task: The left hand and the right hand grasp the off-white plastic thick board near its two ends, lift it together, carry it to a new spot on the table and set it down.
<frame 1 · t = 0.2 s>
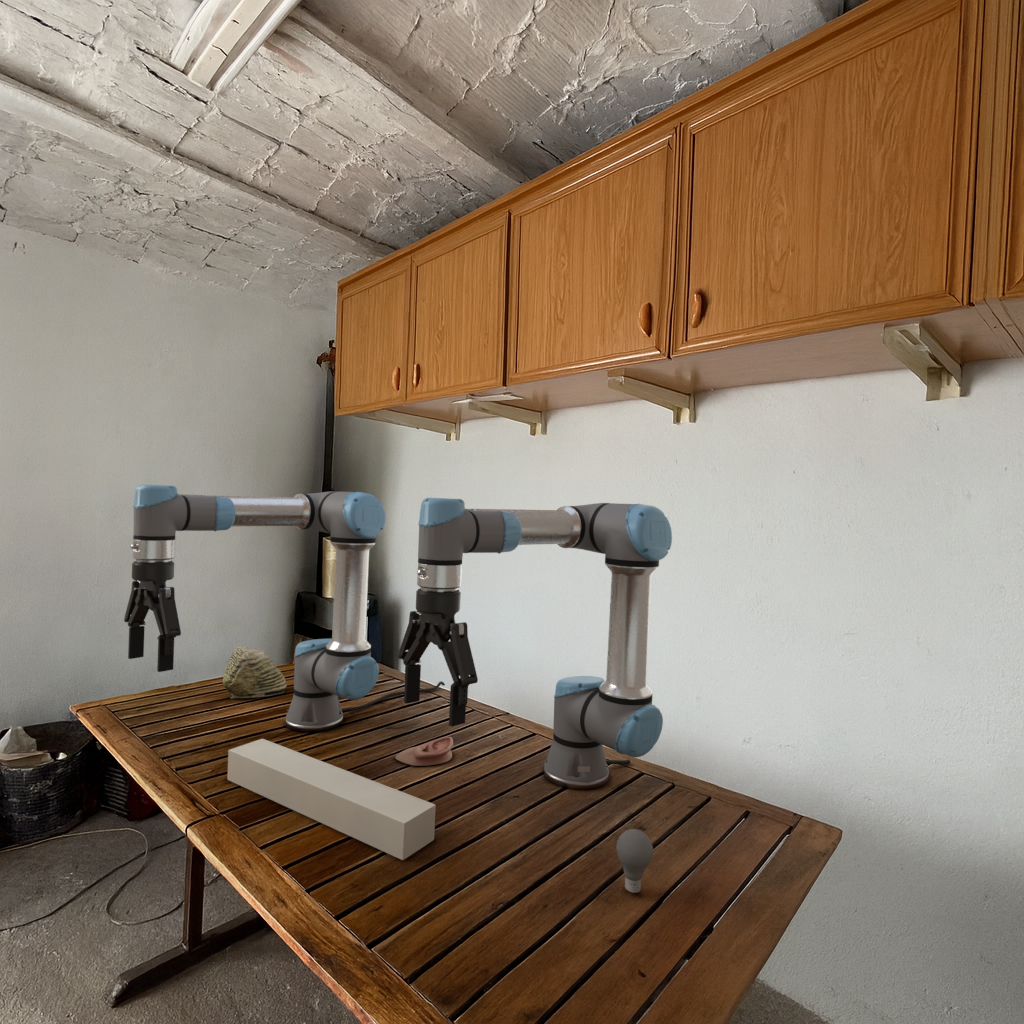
left hand: (150, 664, 129), 28 cm above the table, tool pointing down, fingers open, 13 cm apart
right hand: (433, 712, 108), 28 cm above the table, tool pointing down, fingers open, 13 cm apart
fossil: (254, 694, 198), on the table
thick board: (322, 807, 129), on the table
anatomical model: (424, 757, 156), on the table
light bulb: (632, 891, 106), on the table
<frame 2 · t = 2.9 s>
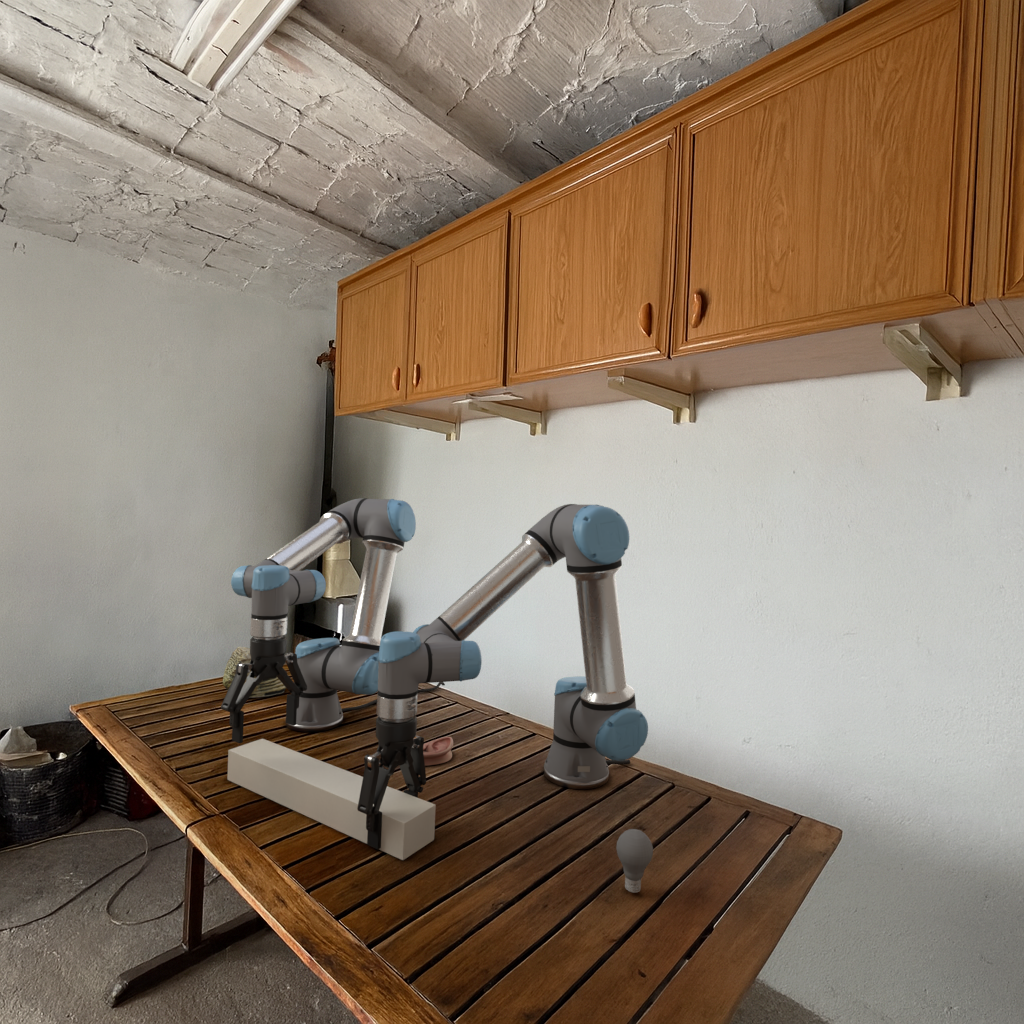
left hand: (265, 732, 139), 11 cm above the table, tool pointing down, fingers open, 13 cm apart
right hand: (391, 835, 119), 1 cm above the table, tool pointing down, fingers closed on thick board, 9 cm apart
thick board: (322, 807, 129), on the table, touching right hand
everything else where it was.
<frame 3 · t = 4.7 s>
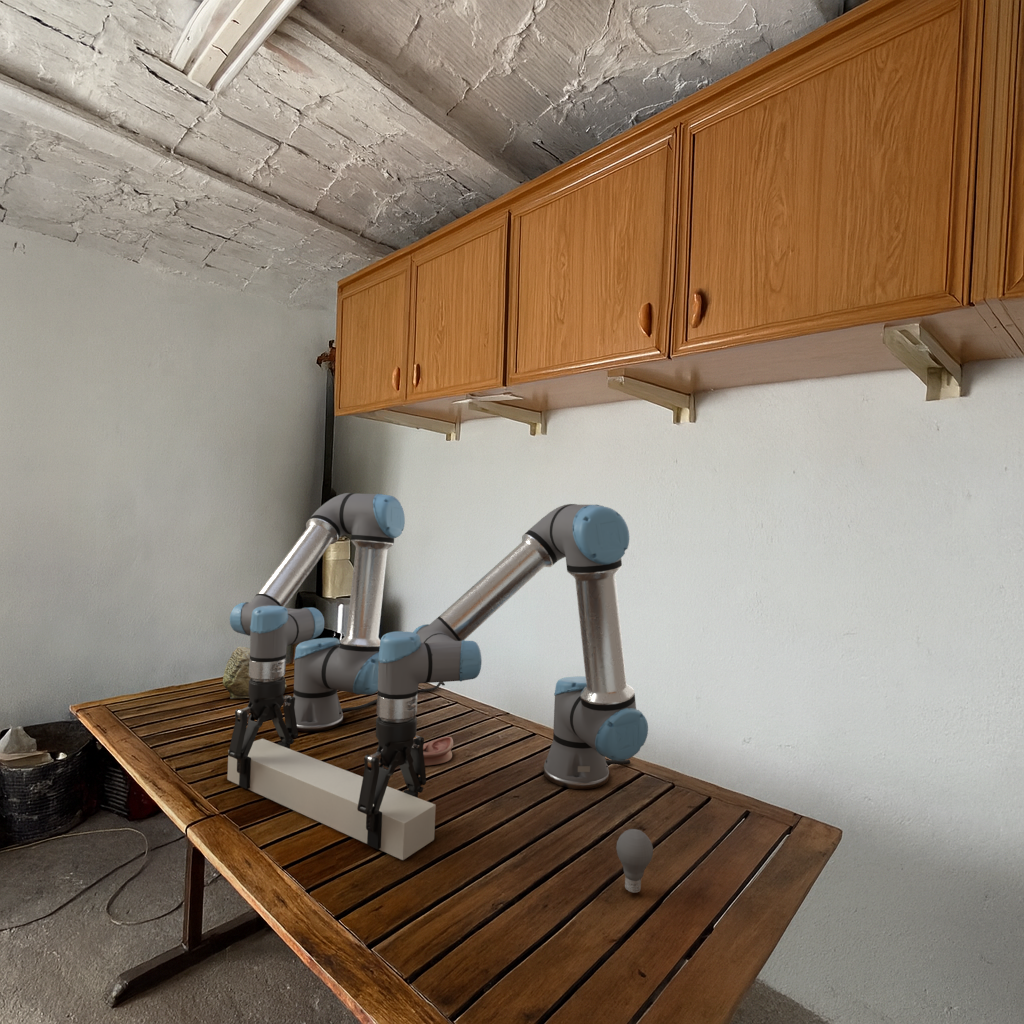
left hand: (263, 779, 140), 1 cm above the table, tool pointing down, fingers closed on thick board, 9 cm apart
right hand: (391, 835, 119), 1 cm above the table, tool pointing down, fingers closed on thick board, 9 cm apart
thick board: (322, 807, 129), on the table, touching left hand, right hand
everything else where it was.
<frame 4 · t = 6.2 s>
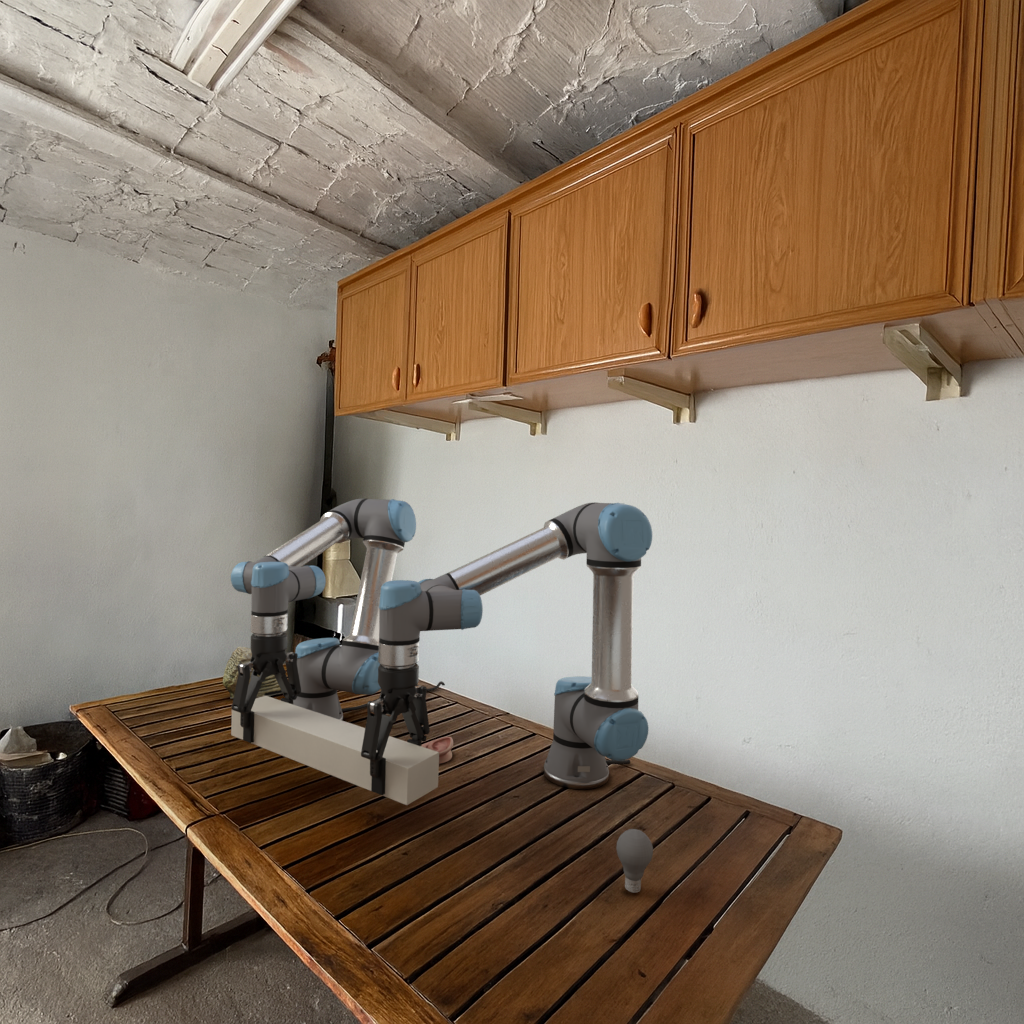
left hand: (267, 734, 140), 10 cm above the table, tool pointing down, fingers closed on thick board, 9 cm apart
right hand: (396, 782, 119), 10 cm above the table, tool pointing down, fingers closed on thick board, 9 cm apart
thick board: (326, 759, 130), point 10 cm above the table, touching left hand, right hand
everything else where it was.
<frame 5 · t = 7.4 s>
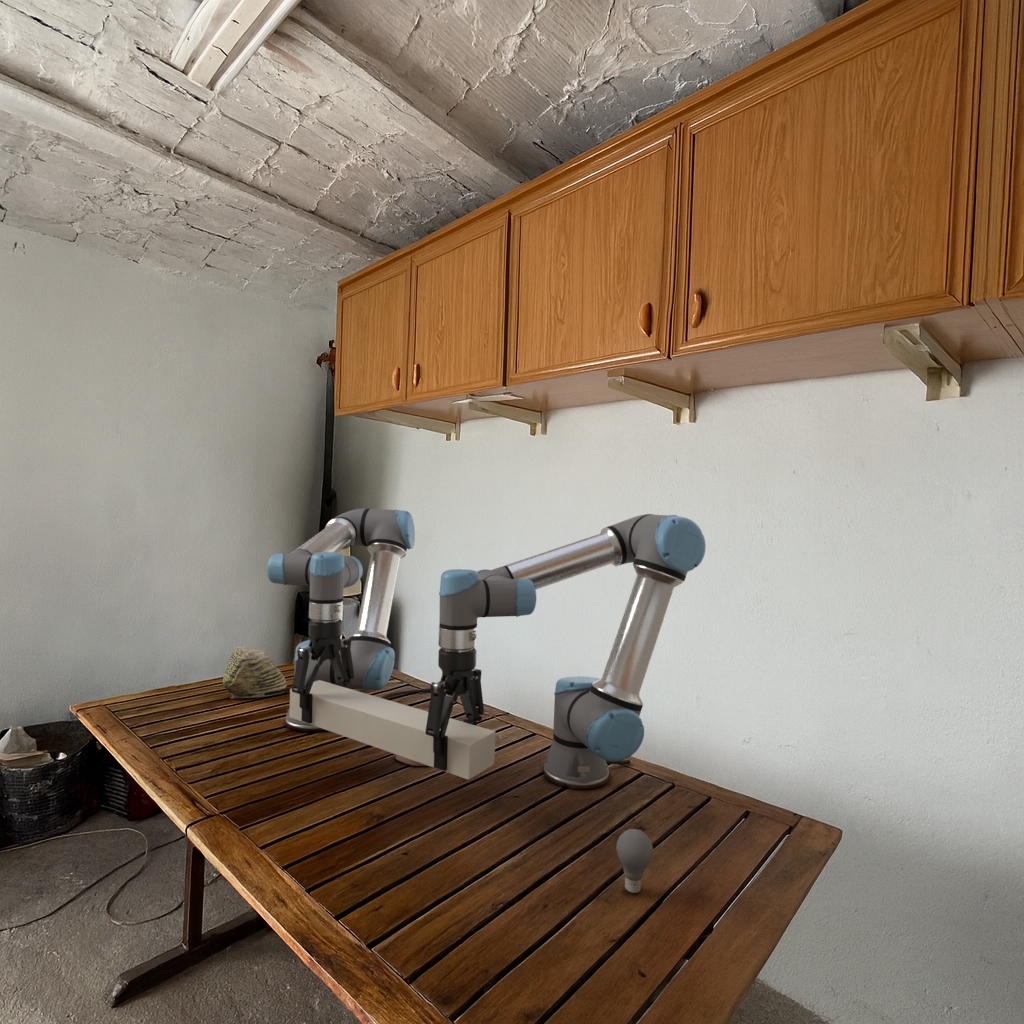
left hand: (323, 715, 147), 12 cm above the table, tool pointing down, fingers closed on thick board, 9 cm apart
right hand: (455, 760, 126), 12 cm above the table, tool pointing down, fingers closed on thick board, 9 cm apart
thick board: (384, 738, 137), point 12 cm above the table, touching left hand, right hand
everything else where it was.
when the right hand's fingers open (2 cm above the table, at t = 9.8 s): thick board stays where it is, on the table.
when the left hand's fingers open (2 cm above the table, at t = 9.9 s): thick board stays where it is, on the table.
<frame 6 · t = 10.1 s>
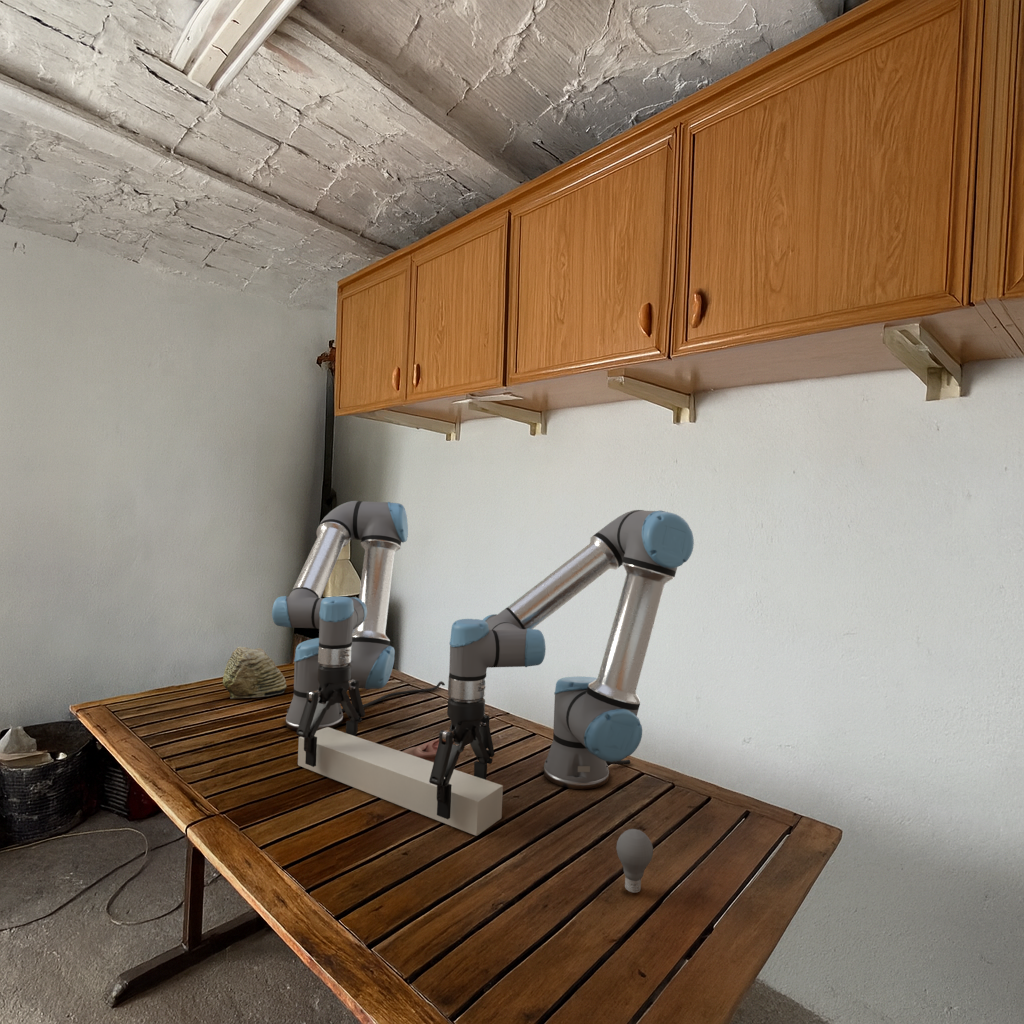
left hand: (331, 756, 148), 2 cm above the table, tool pointing down, fingers open, 11 cm apart
right hand: (462, 804, 128), 2 cm above the table, tool pointing down, fingers open, 11 cm apart
thick board: (392, 789, 138), on the table
everything else where it was.
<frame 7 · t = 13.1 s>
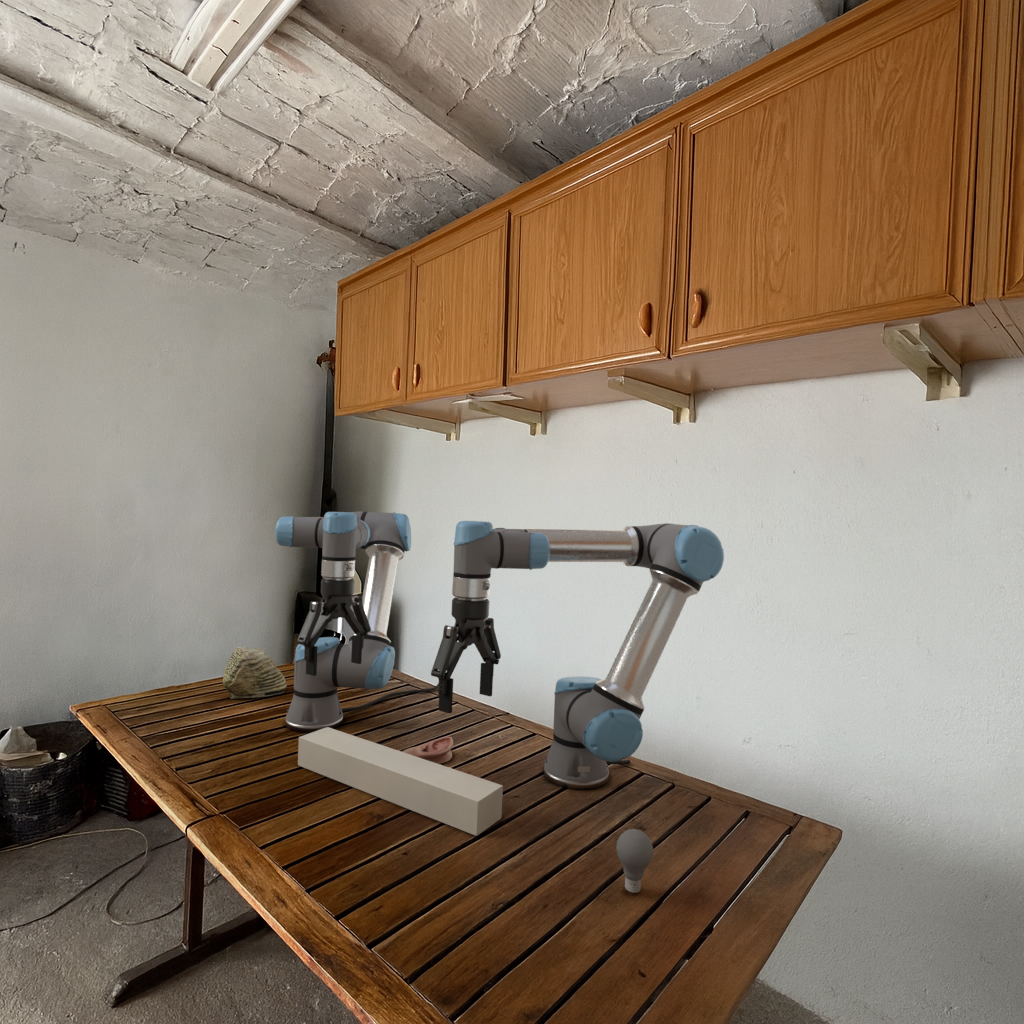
left hand: (334, 668, 148), 23 cm above the table, tool pointing down, fingers open, 13 cm apart
right hand: (466, 703, 127), 23 cm above the table, tool pointing down, fingers open, 13 cm apart
nothing on the table moved.
at the end: thick board inside the target area (0.1 cm from its centre), on the table; thick board tilted 0°; thick board never tilted more than 2° during the clip; both hands held the thick board at the same time; the left hand is holding nothing; the right hand is holding nothing; thick board at rest at the end (0.0 cm/s) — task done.
